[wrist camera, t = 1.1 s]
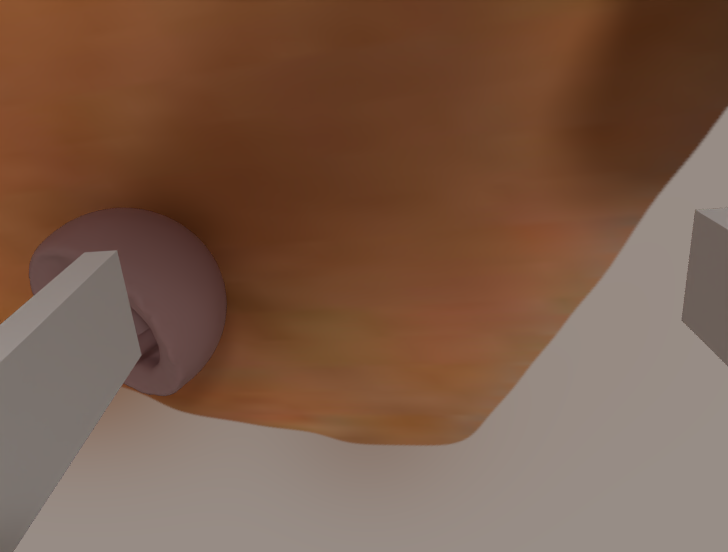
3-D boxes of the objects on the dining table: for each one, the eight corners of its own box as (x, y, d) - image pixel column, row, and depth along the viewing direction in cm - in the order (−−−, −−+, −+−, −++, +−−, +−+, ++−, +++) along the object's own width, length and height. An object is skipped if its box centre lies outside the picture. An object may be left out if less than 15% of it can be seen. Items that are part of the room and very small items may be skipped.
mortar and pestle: (33, 197, 43) (-68, 303, 33) (199, 154, 40) (140, 255, 31) (120, 333, 49) (56, 453, 40) (268, 302, 47) (236, 422, 38)
